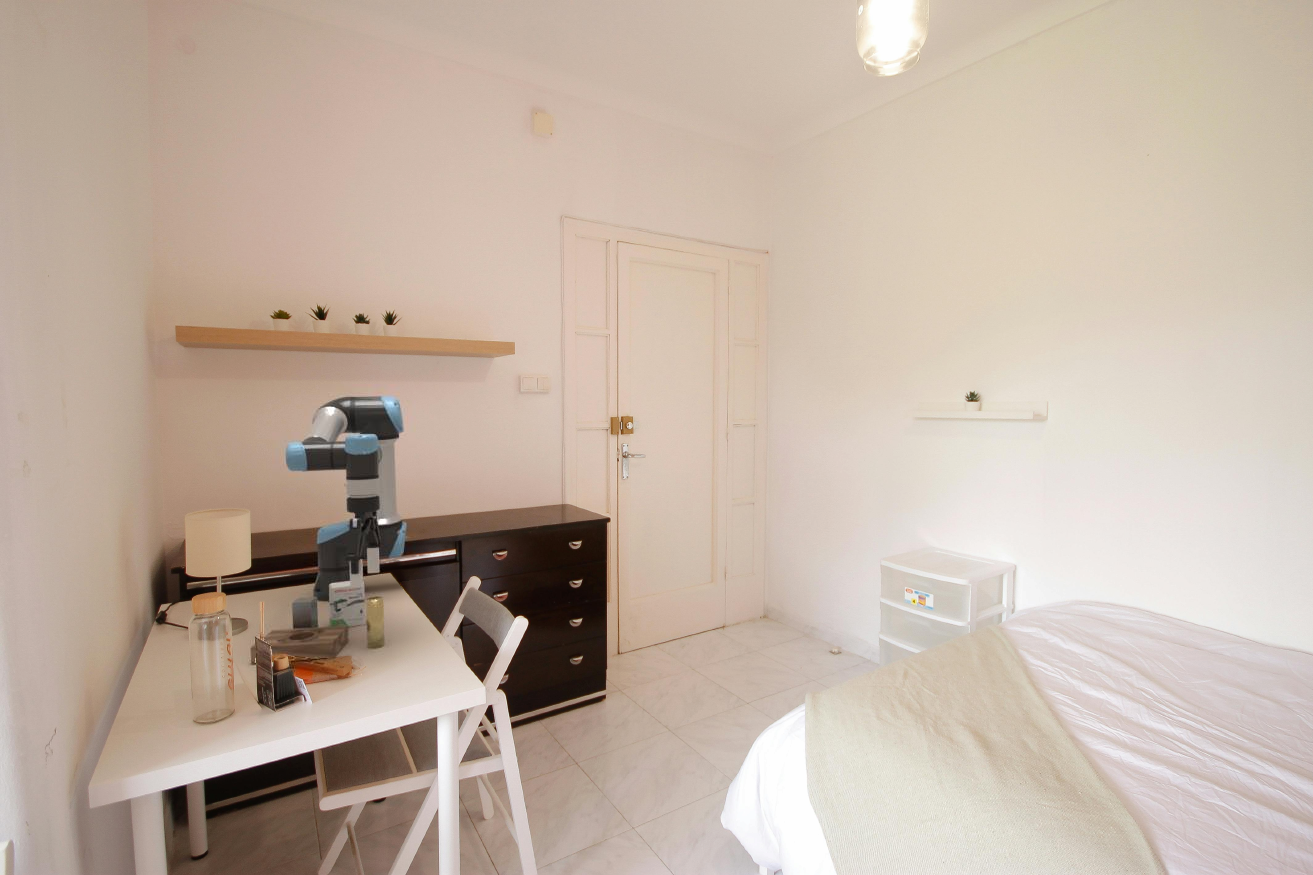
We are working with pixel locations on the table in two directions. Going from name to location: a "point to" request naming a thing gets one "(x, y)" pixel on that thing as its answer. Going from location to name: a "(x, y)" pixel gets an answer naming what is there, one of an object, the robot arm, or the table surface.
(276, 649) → the bore block
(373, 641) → the cylinder
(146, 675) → the table surface
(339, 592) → the ink box
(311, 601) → the square bit
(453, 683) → the table surface
